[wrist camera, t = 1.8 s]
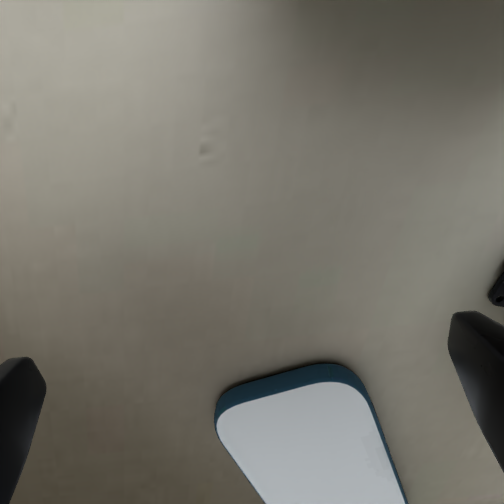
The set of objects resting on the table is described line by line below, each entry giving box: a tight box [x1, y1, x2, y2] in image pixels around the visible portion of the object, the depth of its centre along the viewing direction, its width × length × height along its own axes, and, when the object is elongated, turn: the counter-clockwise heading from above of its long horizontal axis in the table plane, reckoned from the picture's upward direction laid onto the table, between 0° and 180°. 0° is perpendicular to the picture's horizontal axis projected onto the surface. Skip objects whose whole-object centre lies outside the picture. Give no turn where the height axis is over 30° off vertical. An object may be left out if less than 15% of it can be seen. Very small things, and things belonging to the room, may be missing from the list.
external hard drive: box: [214, 363, 408, 504], centre depth 32 cm, size 24×12×2 cm, turn 22°
